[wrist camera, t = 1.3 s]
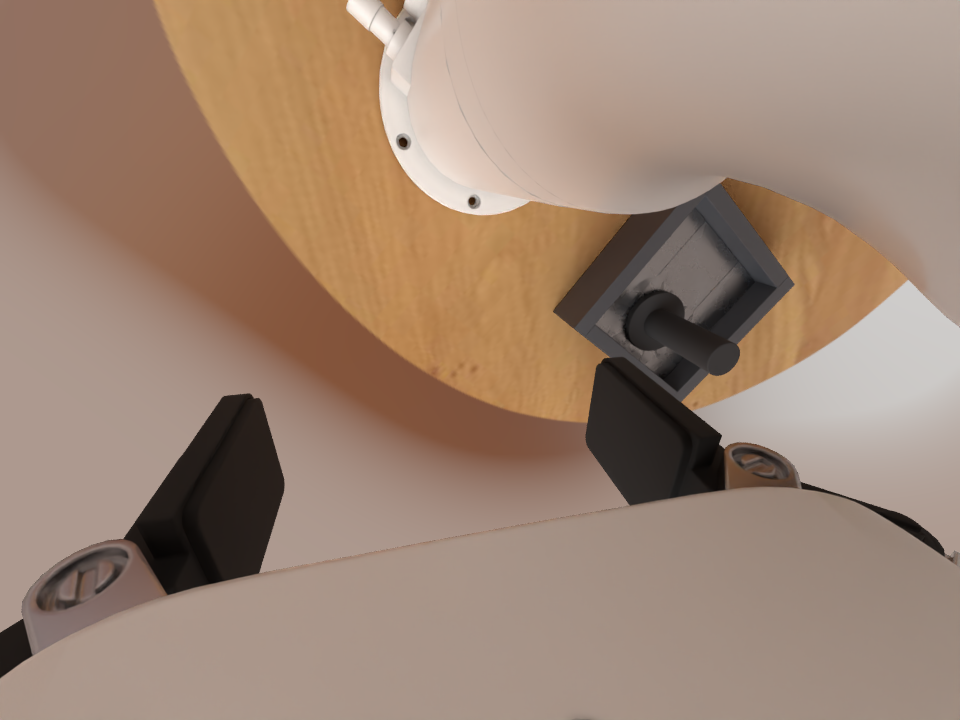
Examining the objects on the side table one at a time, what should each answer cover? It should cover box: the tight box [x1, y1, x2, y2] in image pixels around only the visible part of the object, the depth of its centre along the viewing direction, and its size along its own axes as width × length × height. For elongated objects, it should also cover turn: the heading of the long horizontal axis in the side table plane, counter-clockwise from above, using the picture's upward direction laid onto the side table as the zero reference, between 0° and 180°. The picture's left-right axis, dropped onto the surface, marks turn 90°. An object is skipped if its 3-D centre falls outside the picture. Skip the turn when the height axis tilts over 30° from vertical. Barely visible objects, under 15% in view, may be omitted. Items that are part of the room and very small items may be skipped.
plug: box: [625, 291, 740, 376], centre depth 30 cm, size 5×5×10 cm
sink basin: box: [553, 183, 794, 402], centre depth 32 cm, size 13×13×4 cm
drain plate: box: [596, 208, 755, 380], centre depth 32 cm, size 11×12×2 cm
